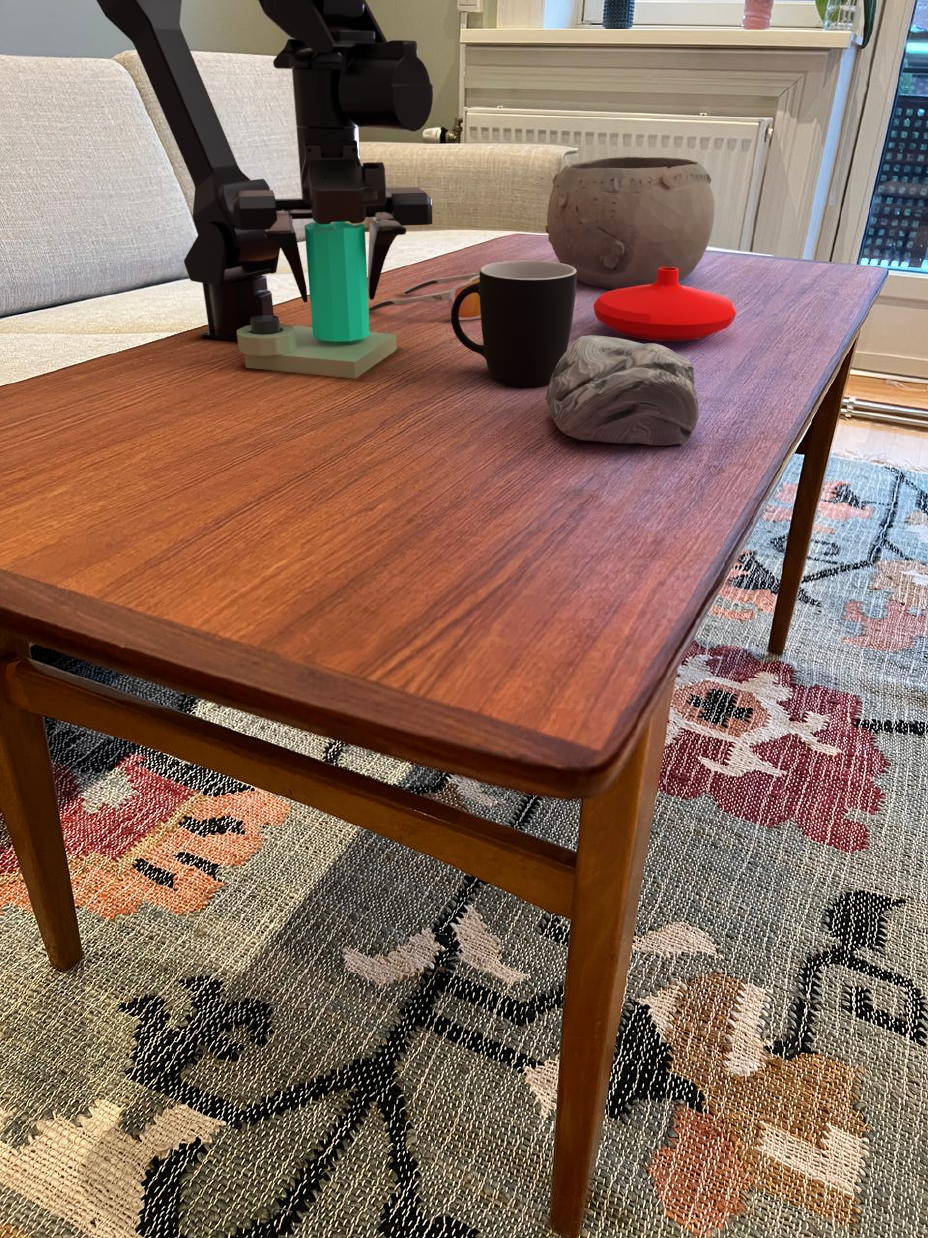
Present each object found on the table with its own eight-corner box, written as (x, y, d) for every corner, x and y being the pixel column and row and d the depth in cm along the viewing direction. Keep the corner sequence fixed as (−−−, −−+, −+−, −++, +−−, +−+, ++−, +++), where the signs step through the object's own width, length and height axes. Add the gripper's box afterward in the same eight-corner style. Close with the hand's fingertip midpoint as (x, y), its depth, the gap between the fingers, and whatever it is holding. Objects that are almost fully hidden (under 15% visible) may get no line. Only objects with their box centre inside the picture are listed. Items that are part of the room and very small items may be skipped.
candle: (378, 338, 95) (372, 210, 88) (321, 344, 93) (311, 214, 86) (359, 324, 99) (353, 202, 93) (305, 329, 97) (295, 205, 91)
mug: (579, 369, 93) (586, 263, 88) (557, 396, 86) (564, 281, 80) (466, 358, 96) (466, 255, 91) (436, 383, 89) (434, 272, 84)
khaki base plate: (230, 370, 93) (226, 334, 91) (286, 340, 103) (283, 307, 101) (350, 382, 89) (348, 345, 87) (396, 350, 99) (395, 316, 97)
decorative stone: (593, 353, 86) (628, 255, 78) (716, 432, 82) (766, 338, 75) (499, 420, 78) (528, 318, 70) (631, 511, 74) (677, 415, 66)
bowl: (594, 256, 146) (601, 150, 138) (733, 274, 134) (750, 158, 126) (513, 281, 130) (516, 162, 122) (663, 303, 118) (678, 173, 110)
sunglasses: (476, 325, 107) (471, 280, 105) (362, 332, 113) (355, 289, 111) (516, 300, 119) (512, 259, 116) (411, 307, 124) (405, 268, 122)
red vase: (640, 359, 96) (647, 288, 92) (566, 324, 108) (569, 261, 105) (762, 344, 102) (774, 276, 98) (679, 312, 114) (686, 251, 110)
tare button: (246, 336, 92) (245, 320, 91) (260, 329, 94) (258, 313, 93) (272, 338, 91) (270, 322, 90) (285, 331, 93) (284, 315, 93)
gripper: (224, 133, 78) (245, 324, 86) (442, 131, 81) (443, 314, 89) (224, 125, 87) (244, 297, 95) (420, 123, 90) (423, 290, 99)
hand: (338, 300), depth 94 cm, fingers closed on candle, 6 cm apart
